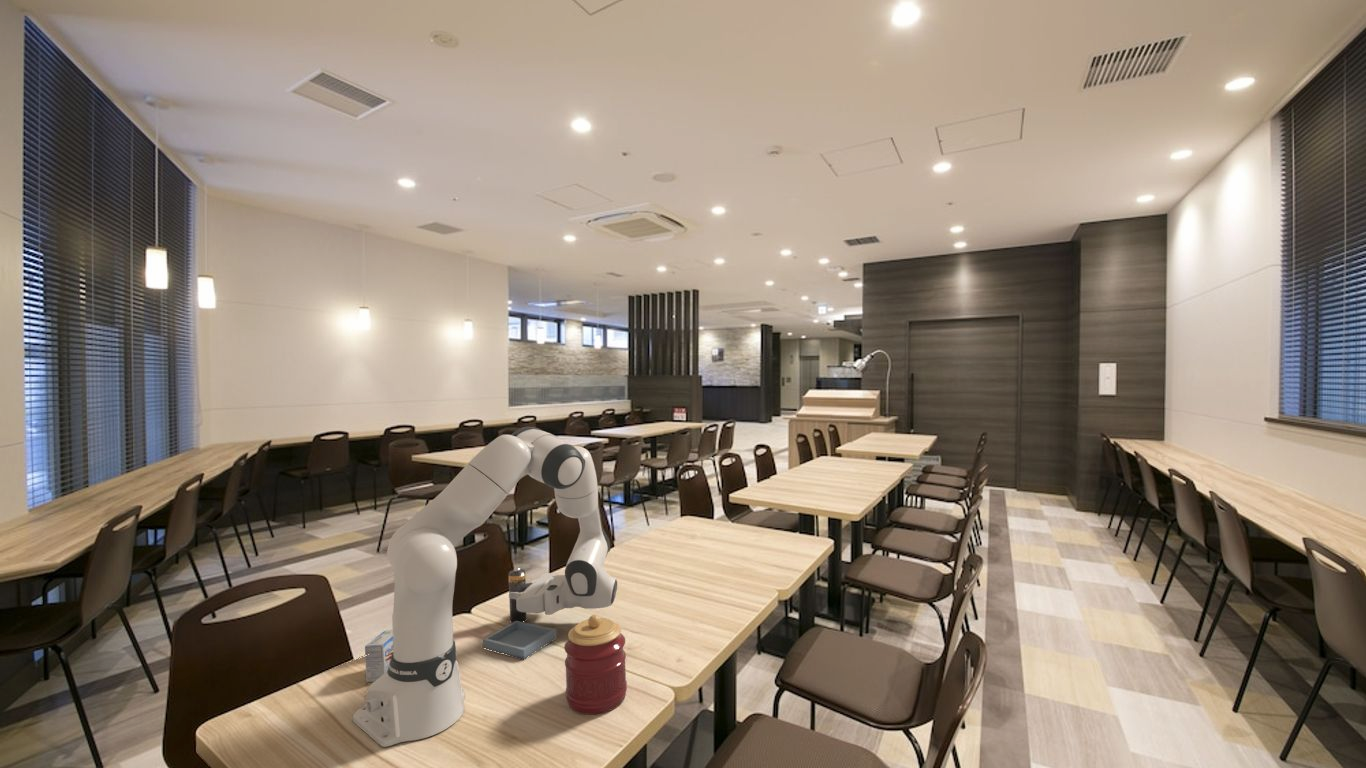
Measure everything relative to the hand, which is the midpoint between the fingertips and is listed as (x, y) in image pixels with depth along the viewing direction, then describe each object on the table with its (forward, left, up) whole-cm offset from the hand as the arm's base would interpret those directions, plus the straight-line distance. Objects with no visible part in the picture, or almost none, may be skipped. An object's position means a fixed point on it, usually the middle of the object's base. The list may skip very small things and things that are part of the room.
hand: (514, 590), depth 153 cm
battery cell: (+1, 0, -9) cm, 9 cm away
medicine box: (-9, -34, -9) cm, 36 cm away
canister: (+44, -21, -9) cm, 50 cm away
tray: (+11, -10, -9) cm, 17 cm away
